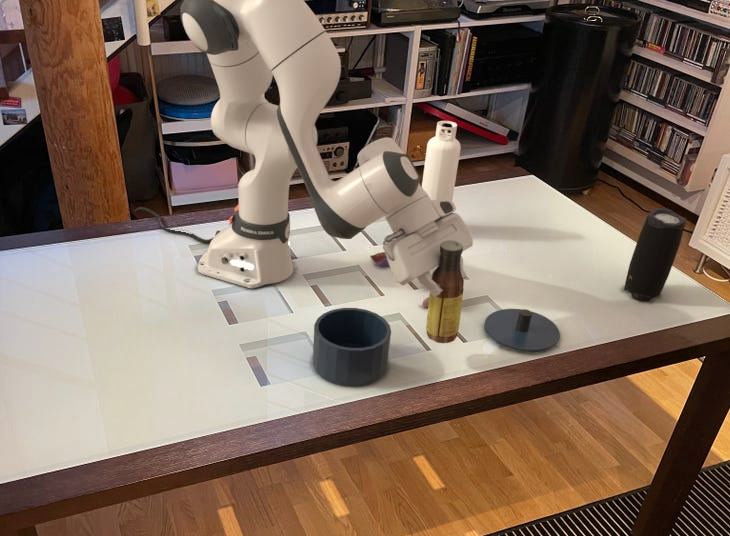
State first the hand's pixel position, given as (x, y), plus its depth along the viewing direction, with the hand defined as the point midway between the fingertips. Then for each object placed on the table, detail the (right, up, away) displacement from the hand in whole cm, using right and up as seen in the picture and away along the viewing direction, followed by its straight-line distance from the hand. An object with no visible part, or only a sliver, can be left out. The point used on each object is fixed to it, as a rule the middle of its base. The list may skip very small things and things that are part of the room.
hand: (450, 286), depth 142 cm
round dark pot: (-18, -14, +9) cm, 25 cm away
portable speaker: (+51, +2, +35) cm, 61 cm away
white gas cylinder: (+6, +20, +57) cm, 61 cm away
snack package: (-5, +10, +43) cm, 45 cm away
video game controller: (+2, 0, +30) cm, 30 cm away
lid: (+19, -7, +19) cm, 28 cm away
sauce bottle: (-1, -9, +7) cm, 12 cm away
